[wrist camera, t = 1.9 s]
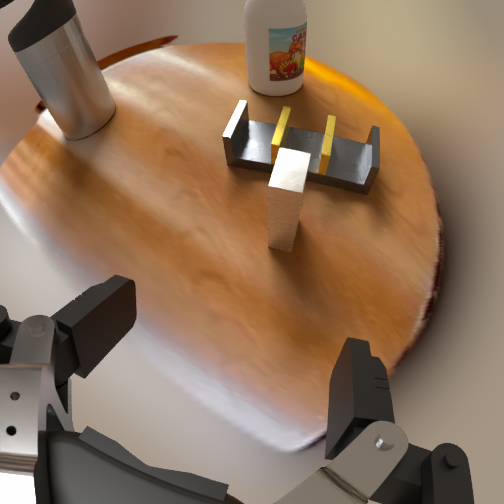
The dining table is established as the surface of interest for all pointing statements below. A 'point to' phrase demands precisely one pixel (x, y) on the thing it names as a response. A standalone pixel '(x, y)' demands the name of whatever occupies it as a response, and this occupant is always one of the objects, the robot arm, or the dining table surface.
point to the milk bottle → (275, 45)
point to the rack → (303, 150)
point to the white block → (286, 197)
